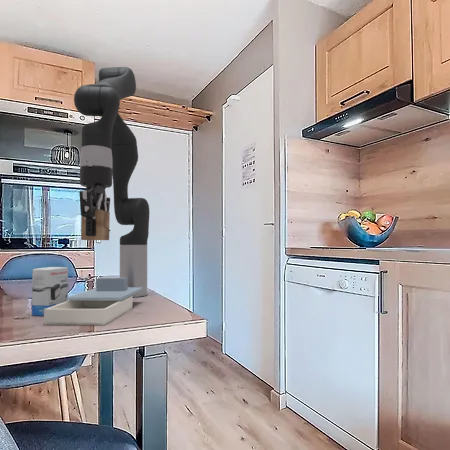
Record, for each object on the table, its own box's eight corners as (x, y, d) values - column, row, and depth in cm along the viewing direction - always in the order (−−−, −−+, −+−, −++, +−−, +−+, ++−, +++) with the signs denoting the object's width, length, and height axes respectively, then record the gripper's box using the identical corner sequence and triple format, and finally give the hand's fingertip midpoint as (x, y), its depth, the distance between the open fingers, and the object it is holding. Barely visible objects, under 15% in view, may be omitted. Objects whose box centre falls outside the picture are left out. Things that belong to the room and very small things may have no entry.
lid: (97, 289, 114) (97, 275, 114) (142, 289, 113) (142, 275, 114) (66, 300, 94) (66, 283, 94) (121, 300, 93) (121, 283, 94)
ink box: (47, 316, 93) (48, 269, 94) (30, 315, 94) (31, 269, 95) (68, 310, 101) (69, 266, 102) (52, 309, 102) (53, 266, 103)
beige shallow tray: (82, 308, 103) (82, 295, 104) (132, 308, 103) (132, 295, 103) (43, 324, 84) (44, 309, 84) (105, 325, 83) (105, 309, 83)
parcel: (89, 240, 93) (90, 212, 94) (109, 240, 93) (109, 212, 94) (81, 239, 88) (81, 210, 89) (101, 239, 88) (102, 210, 89)
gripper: (92, 172, 99) (91, 237, 98) (68, 160, 85) (66, 235, 84) (120, 172, 99) (119, 237, 98) (100, 160, 84) (99, 235, 83)
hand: (95, 236), depth 91 cm, fingers closed on parcel, 5 cm apart
